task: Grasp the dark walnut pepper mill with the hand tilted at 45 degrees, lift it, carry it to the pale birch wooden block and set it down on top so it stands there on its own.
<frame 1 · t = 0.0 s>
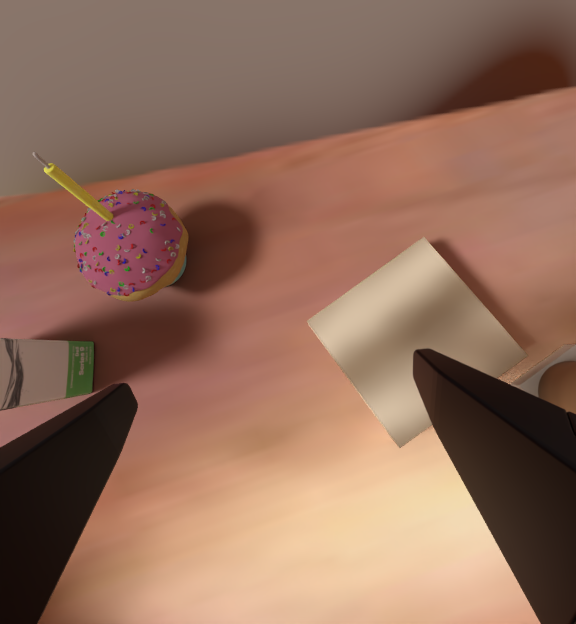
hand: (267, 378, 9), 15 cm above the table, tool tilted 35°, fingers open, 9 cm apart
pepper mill: (562, 392, 21), on the table
ink box: (54, 368, 26), on the table
cupcake: (165, 263, 26), on the table
birch block: (400, 339, 23), on the table
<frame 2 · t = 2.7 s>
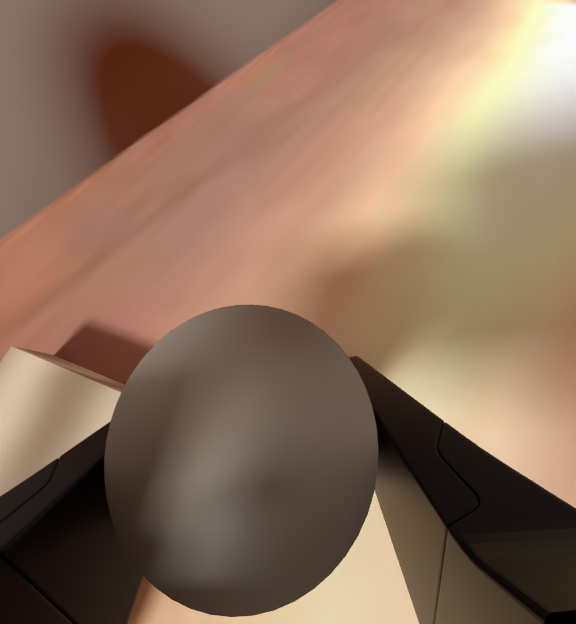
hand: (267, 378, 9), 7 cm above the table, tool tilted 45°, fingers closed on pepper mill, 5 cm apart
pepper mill: (293, 421, 14), on the table, touching gripper
birch block: (78, 484, 15), on the table
when the fingers open (10 cm above the table, at t = 7.7 s): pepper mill stays where it is, resting on birch block.
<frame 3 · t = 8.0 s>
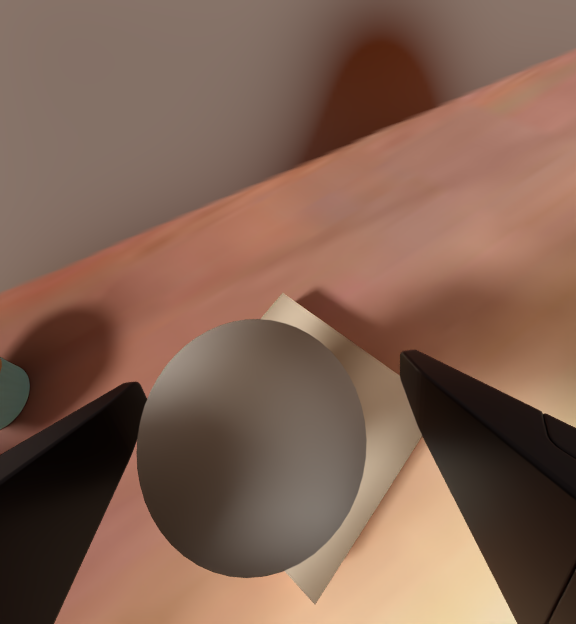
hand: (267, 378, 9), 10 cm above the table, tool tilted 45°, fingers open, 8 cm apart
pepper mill: (295, 420, 15), point 2 cm above the table, touching birch block
cupcake: (5, 397, 21), on the table
birch block: (300, 419, 18), on the table, touching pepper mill
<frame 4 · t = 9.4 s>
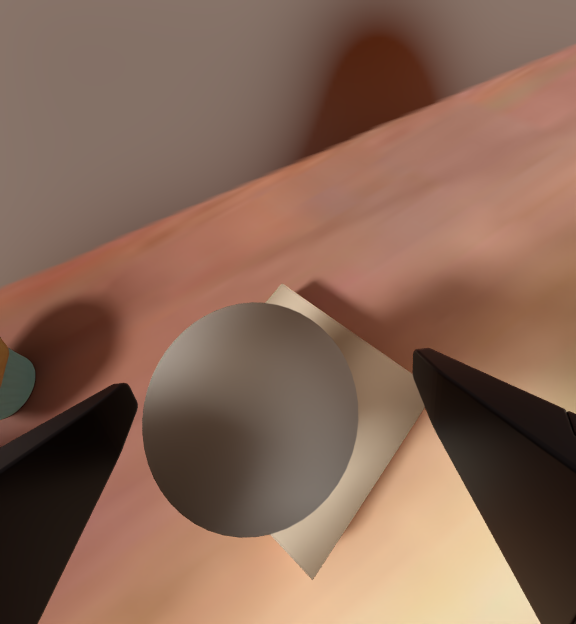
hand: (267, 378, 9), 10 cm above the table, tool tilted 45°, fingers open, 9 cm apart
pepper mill: (292, 409, 16), point 2 cm above the table, touching birch block
cupcake: (11, 387, 21), on the table
birch block: (299, 407, 19), on the table, touching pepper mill
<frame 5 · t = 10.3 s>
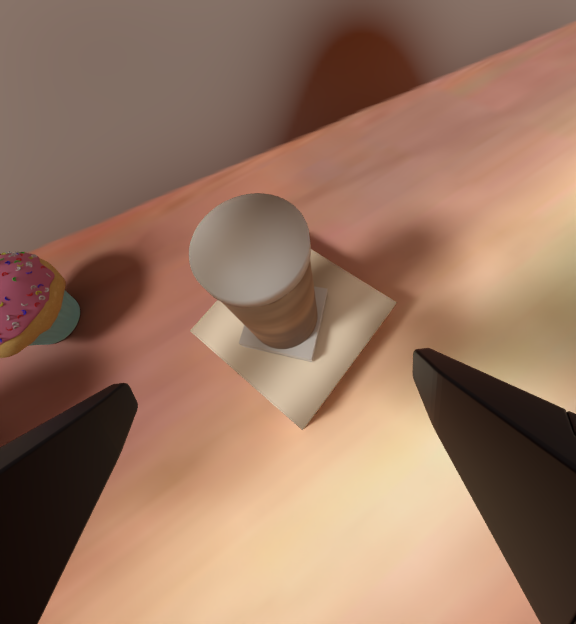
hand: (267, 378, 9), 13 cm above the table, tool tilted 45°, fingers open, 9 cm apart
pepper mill: (285, 320, 20), point 2 cm above the table
cupcake: (60, 320, 26), on the table
birch block: (294, 328, 23), on the table
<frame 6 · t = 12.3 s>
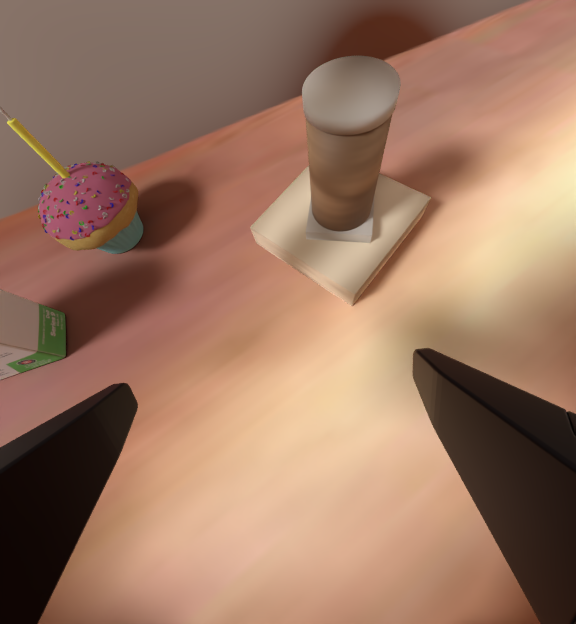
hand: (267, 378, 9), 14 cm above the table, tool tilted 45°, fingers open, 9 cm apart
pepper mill: (340, 215, 24), point 2 cm above the table
ink box: (27, 349, 26), on the table
cupcake: (125, 235, 29), on the table
birch block: (336, 233, 27), on the table
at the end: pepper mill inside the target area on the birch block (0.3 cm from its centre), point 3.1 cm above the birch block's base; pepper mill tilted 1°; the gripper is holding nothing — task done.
